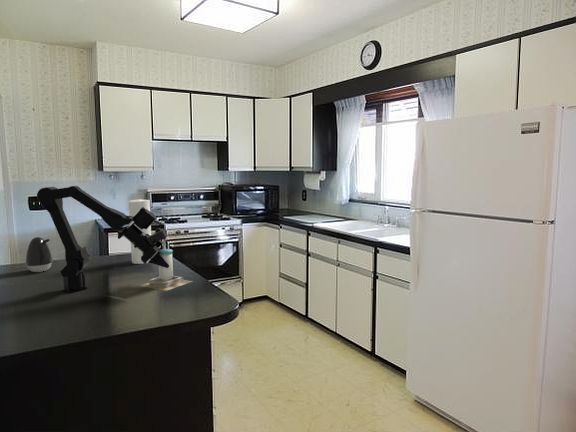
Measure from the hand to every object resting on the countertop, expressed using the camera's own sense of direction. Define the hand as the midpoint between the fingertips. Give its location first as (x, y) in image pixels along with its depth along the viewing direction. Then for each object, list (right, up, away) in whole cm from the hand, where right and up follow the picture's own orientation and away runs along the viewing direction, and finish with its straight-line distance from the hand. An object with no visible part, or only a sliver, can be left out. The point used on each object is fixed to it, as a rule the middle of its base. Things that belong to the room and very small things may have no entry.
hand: (169, 265), depth 159 cm
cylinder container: (-25, -3, +40) cm, 47 cm away
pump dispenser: (-64, -6, +24) cm, 69 cm away
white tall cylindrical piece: (-1, -7, +1) cm, 7 cm away
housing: (-1, -8, +1) cm, 8 cm away
